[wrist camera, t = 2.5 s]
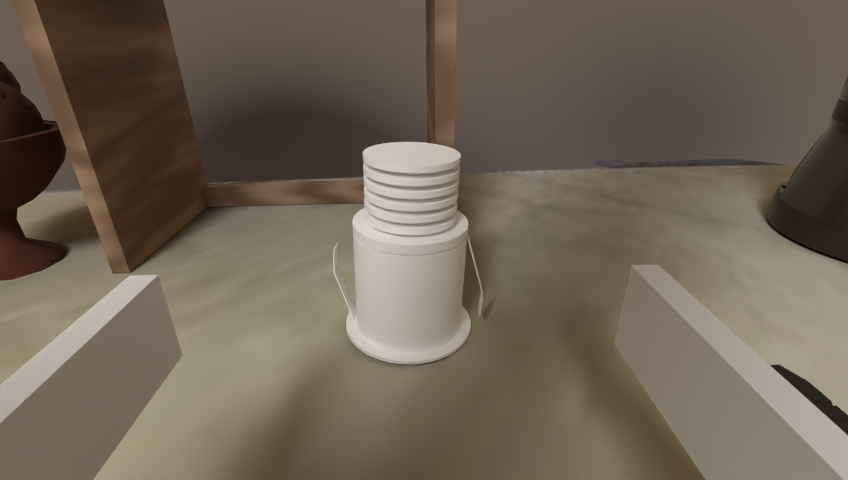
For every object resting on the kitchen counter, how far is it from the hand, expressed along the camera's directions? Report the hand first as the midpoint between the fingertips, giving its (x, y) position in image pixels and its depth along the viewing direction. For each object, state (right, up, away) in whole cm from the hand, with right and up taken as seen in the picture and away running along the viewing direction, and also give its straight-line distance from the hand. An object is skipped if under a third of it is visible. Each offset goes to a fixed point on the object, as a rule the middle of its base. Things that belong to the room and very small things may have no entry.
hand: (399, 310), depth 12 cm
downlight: (0, -3, +12) cm, 13 cm away
